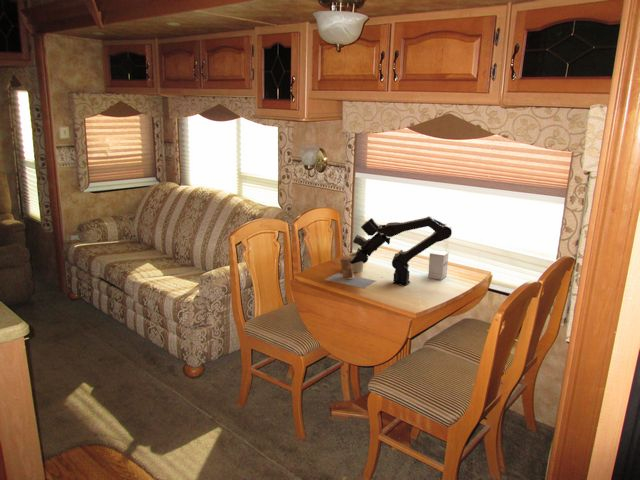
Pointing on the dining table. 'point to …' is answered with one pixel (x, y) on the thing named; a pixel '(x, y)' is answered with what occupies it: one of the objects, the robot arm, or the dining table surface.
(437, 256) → the supplement box
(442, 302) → the dining table surface
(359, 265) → the flower pot
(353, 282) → the rubber mat
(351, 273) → the walnut block
